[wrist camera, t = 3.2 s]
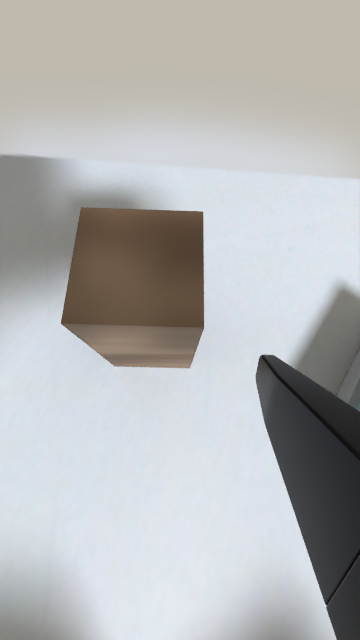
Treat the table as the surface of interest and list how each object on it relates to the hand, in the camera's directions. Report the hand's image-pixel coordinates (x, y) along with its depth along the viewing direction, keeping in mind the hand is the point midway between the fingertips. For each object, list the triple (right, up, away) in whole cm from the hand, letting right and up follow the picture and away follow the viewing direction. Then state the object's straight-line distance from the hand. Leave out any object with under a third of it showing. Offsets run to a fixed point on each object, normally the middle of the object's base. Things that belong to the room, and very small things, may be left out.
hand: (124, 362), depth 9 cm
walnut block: (0, +1, +12) cm, 12 cm away
